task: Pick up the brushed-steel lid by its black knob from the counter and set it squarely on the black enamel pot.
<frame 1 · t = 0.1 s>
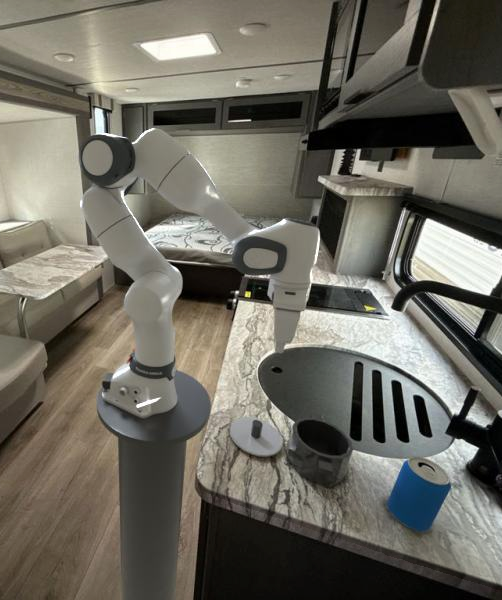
hand: (278, 342, 77), 22 cm above the worktop, tool pointing down, fingers open, 8 cm apart
pot lid: (255, 436, 76), point 1 cm above the worktop
pot: (314, 461, 70), on the worktop
beverage can: (406, 516, 58), on the worktop
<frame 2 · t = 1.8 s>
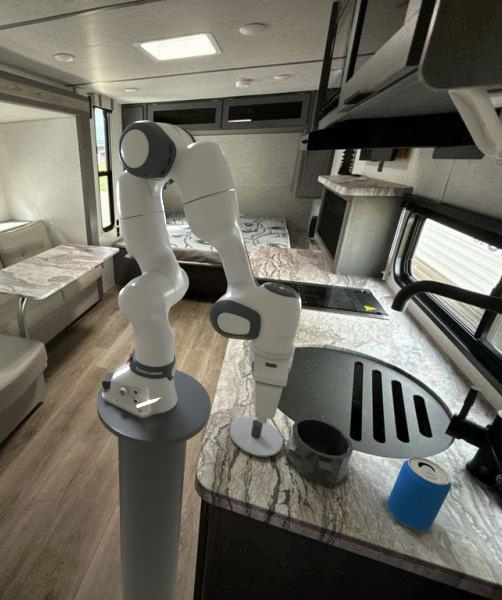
hand: (262, 407, 72), 10 cm above the worktop, tool pointing down, fingers open, 8 cm apart
nothing on the worktop moved.
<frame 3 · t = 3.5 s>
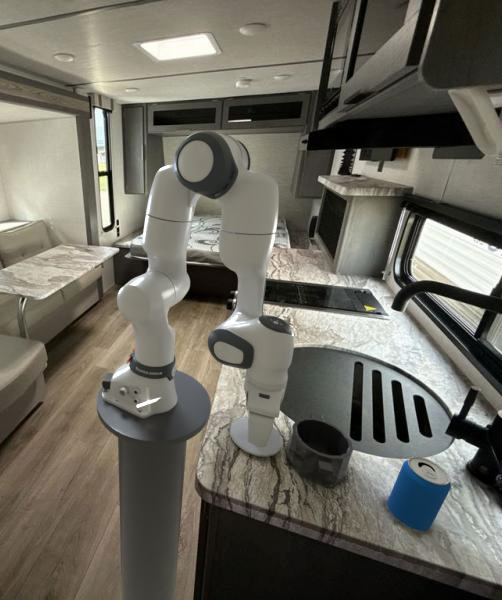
hand: (255, 432, 75), 2 cm above the worktop, tool pointing down, fingers closed on pot lid, 2 cm apart
pot lid: (255, 436, 76), point 1 cm above the worktop, touching gripper
everything else where it was.
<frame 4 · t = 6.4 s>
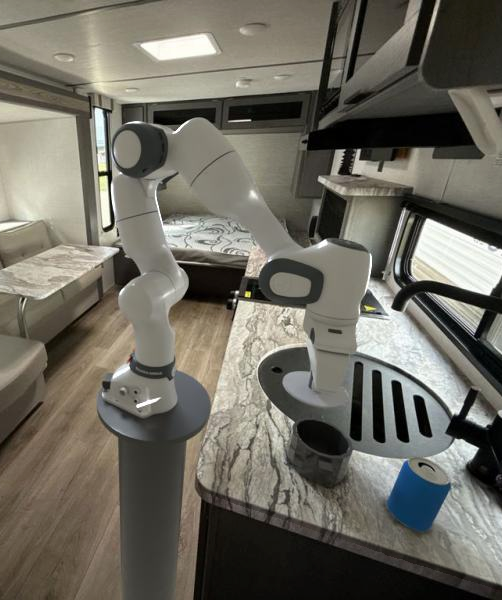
hand: (314, 384, 64), 20 cm above the worktop, tool pointing down, fingers closed on pot lid, 2 cm apart
pot lid: (313, 389, 65), point 18 cm above the worktop, touching gripper
everything else where it was.
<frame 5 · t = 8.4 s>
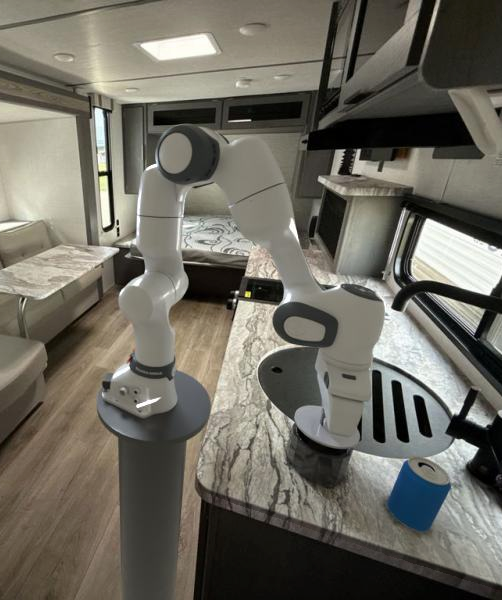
hand: (326, 421, 65), 12 cm above the worktop, tool pointing down, fingers closed on pot lid, 2 cm apart
pot lid: (325, 426, 66), point 10 cm above the worktop, touching gripper
everything else where it was.
when the fingers open (9 cm above the worktop, at t = 9.5 s): pot lid stays where it is, resting on pot.
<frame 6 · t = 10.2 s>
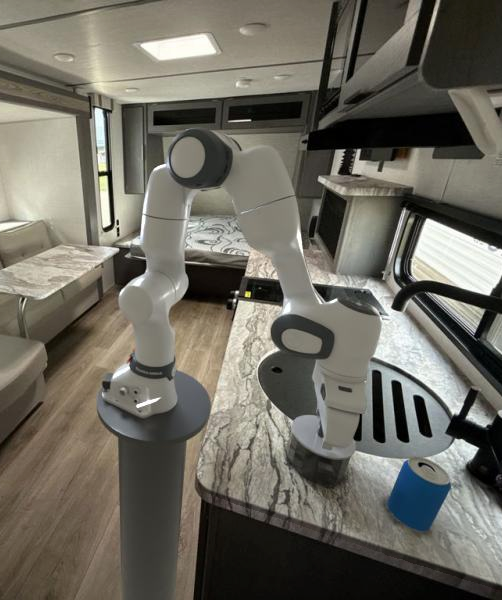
hand: (323, 431, 66), 9 cm above the worktop, tool pointing down, fingers open, 8 cm apart
pot lid: (322, 436, 67), point 7 cm above the worktop, touching pot
everything else where it was.
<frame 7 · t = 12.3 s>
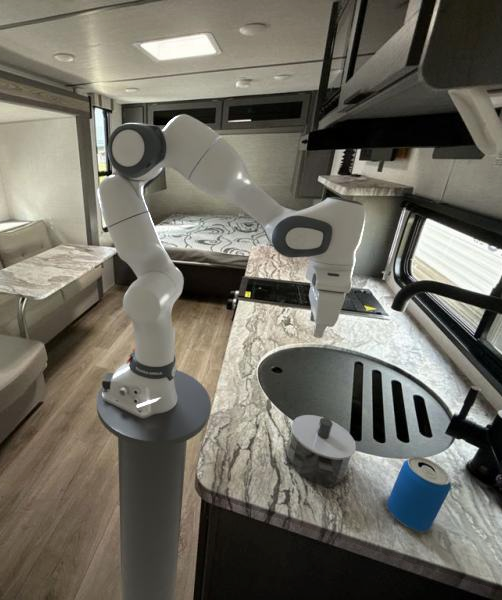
hand: (315, 328, 74), 26 cm above the worktop, tool pointing down, fingers open, 8 cm apart
nothing on the worktop moved.
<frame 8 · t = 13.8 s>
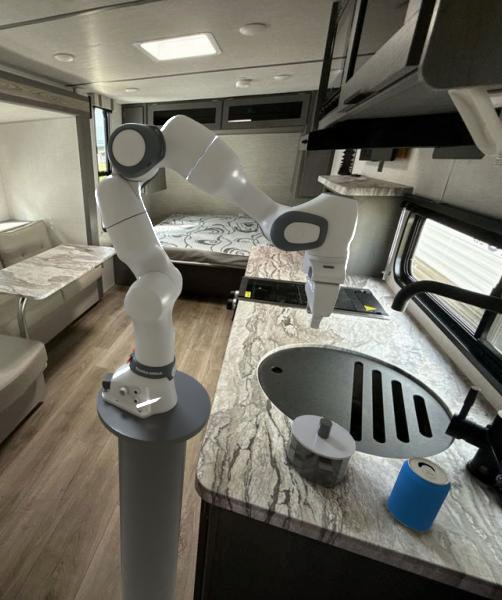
hand: (311, 319, 77), 27 cm above the worktop, tool pointing down, fingers open, 8 cm apart
nothing on the worktop moved.
at the end: pot lid 0.1 cm off-centre on the pot, point 7.4 cm above the pot's base; pot lid tilted 0°; the gripper is holding nothing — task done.
